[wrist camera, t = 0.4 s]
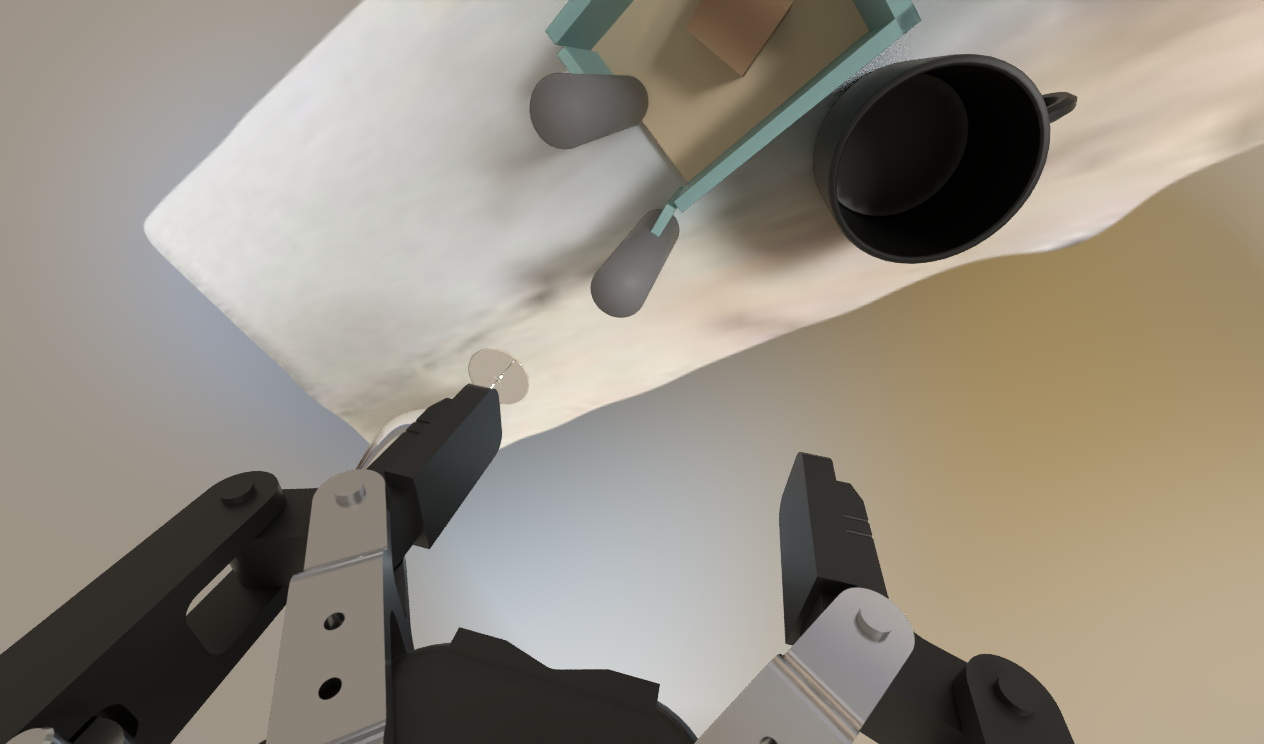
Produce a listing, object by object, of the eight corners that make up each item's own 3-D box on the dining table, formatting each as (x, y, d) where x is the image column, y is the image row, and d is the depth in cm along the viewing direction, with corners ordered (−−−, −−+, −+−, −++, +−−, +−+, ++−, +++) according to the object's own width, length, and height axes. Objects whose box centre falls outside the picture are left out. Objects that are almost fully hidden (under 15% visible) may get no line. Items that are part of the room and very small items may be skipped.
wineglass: (552, 375, 46) (452, 517, 31) (515, 423, 51) (413, 567, 36) (481, 324, 45) (342, 446, 30) (450, 378, 49) (315, 508, 34)
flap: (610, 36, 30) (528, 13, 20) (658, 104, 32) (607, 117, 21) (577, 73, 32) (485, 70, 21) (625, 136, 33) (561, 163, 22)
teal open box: (772, -181, 24) (776, -262, 19) (887, 32, 28) (921, 20, 22) (585, 40, 31) (545, 30, 25) (695, 190, 35) (682, 212, 29)
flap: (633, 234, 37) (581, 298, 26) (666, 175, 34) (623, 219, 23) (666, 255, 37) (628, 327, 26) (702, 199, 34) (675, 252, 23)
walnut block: (736, -38, 27) (733, -54, 24) (790, 9, 28) (794, 0, 24) (693, 34, 29) (685, 28, 26) (743, 76, 30) (741, 76, 27)
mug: (1032, 175, 30) (1124, 208, 22) (830, 242, 34) (849, 287, 27) (1022, 4, 26) (1129, -28, 18) (796, 104, 31) (808, 112, 23)
